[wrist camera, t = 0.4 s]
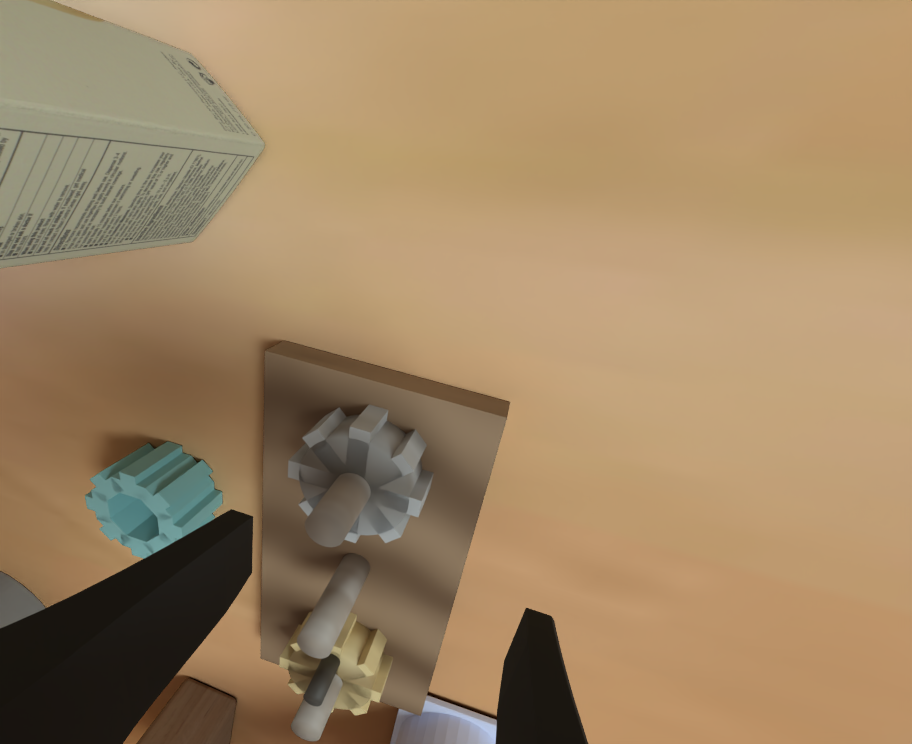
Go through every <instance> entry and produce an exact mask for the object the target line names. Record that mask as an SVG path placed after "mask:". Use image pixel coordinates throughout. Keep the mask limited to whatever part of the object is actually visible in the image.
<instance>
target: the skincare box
mask: <svg viewBox="0 0 912 744" xmlns="http://www.w3.org/2000/svg"><path fill="white" fill-rule="evenodd" d="M264 147H265V143H264V142H263V140H262V139H261V138H260V136H259V135H258V134H257V133H256V131H255V130H254V129H253V127H252V126H251V125H250V124H249V122H248V121H247V120H246V118H245V117H244V116H243V115H242V113H241V112H240V111H239V110H238V108H237V107H236V106H235V104H234V103H233V102H232V101H231V100H230V98H229V97H228V96H227V95H226V93H225V92H224V91H223V90H222V88H221V87H220V86H219V85H218V84H217V82H216V81H215V80H214V79H213V78H212V77H211V75H210V74H209V73H208V72H207V71H206V70H205V69H204V67H203V66H202V65H201V64H200V63H199V62H198V61H197V59H196V58H195V57H194V56H193V55H192V54H190V53H189V52H186V51H183V50H181V49H178V48H176V47H173V46H170V45H168V44H165V43H163V42H160V41H158V40H155V39H152V38H150V37H147V36H144V35H142V34H139V33H137V32H134V31H131V30H129V29H126V28H123V27H121V26H118V25H115V24H113V23H110V22H107V21H105V20H102V19H99V18H96V17H94V16H91V15H89V14H86V13H84V12H81V11H78V10H75V9H73V8H70V7H67V6H65V5H62V4H59V3H57V2H54V1H51V0H0V268H5V267H13V266H20V265H27V264H35V263H42V262H50V261H57V260H64V259H71V258H78V257H86V256H93V255H100V254H108V253H115V252H122V251H130V250H137V249H145V248H152V247H159V246H166V245H173V244H182V243H189V242H193V241H194V240H195V239H196V238H197V236H198V235H199V234H200V233H201V232H202V231H203V229H204V228H205V227H206V225H207V224H208V223H209V222H210V221H211V220H212V218H213V217H214V216H215V214H216V213H217V212H218V211H219V209H220V208H221V207H222V205H223V204H224V203H225V201H226V200H227V199H228V197H229V196H230V195H231V194H232V192H233V191H234V190H235V188H236V187H237V185H238V184H239V183H240V181H241V180H242V179H243V177H244V176H245V174H246V173H247V172H248V170H249V169H250V168H251V166H252V165H253V163H254V162H255V160H256V159H257V158H258V156H259V155H260V153H261V152H262V151H263V149H264Z"/></svg>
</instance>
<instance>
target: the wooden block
mask: <svg viewBox="0 0 912 744" xmlns="http://www.w3.org/2000/svg"><path fill="white" fill-rule="evenodd" d="M235 707H236V700H235V698H233V697H231V696H229V695H227V694H224V693H222V692H220V691H218V690H215V689H213V688H211V687H209V686H206V685H204V684H202V683H200V682H197V681H195V680H193V679H187V680H185V681H184V682H183V683H182V685H181V686H180V687H179V689H178V690H177V691H176V693H175V694H174V695H173V697H172V698H171V699H170V701H169V702H168V703H167V704H166V706H165V707H164V708H163V710H162V711H161V712H160V714H159V715H158V716H157V718H156V719H155V720H154V721H153V723H152V724H151V725H150V727H149V728H148V729H147V731H146V732H145V733H144V735H143V736H142V737H141V739H140V740H139V741H138V742H137V744H230V738H231V732H232V726H233V720H234V713H235Z"/></svg>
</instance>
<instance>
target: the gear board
mask: <svg viewBox="0 0 912 744" xmlns="http://www.w3.org/2000/svg"><path fill="white" fill-rule="evenodd" d="M509 404H510V402H507V401H504V400H500V399H496V398H493V397H489V396H485V395H482V394H478V393H474V392H471V391H467V390H464V389H460V388H456V387H453V386H449V385H445V384H442V383H438V382H434V381H431V380H427V379H423V378H420V377H416V376H412V375H409V374H405V373H401V372H398V371H394V370H390V369H387V368H383V367H379V366H376V365H372V364H368V363H365V362H361V361H357V360H354V359H350V358H346V357H343V356H339V355H335V354H332V353H328V352H324V351H321V350H317V349H313V348H310V347H306V346H302V345H299V344H295V343H291V342H288V341H282V342H280V343H279V344H277V345H275V346H273V347H271V348H269V349H267V350H265V379H264V450H263V521H262V593H261V659H264V660H266V661H269V662H272V663H275V664H277V665H280V666H279V667H281V668H284V669H287V670H288V671H289V674H290V677H291V679H290V681H289V683H288V685H289V686H290V687H291V688H292V689H293V690H294V691H295V692H296V694H301V693H305V694H304V696H303V697H304V699H303V701H302V703H301V705H300V707H299V710H298V712H297V714H296V716H295V718H294V720H293V722H292V724H291V729H292V731H293V732H294V733H295V734H296V735H297V736H299V737H300V738H302V739H304V740H307V741H317V740H319V739H320V737H321V735H322V732H323V730H324V727H325V725H326V723H327V720H328V718H329V716H330V713H333V711H334V708H336V709H344V710H350V711H351V712H352V713H353V714H354V715H355V716H356V715H360V714H365V713H367V711H368V708H369V705H370V702H371V700H372V701H375V702H378V703H379V701H380V702H383V703H385V704H388V705H391V706H394V707H396V708H399V709H402V710H405V711H407V712H410V713H413V714H416V715H418V716H421V714H422V710H423V707H424V703H425V700H426V697H427V693H428V690H429V686H430V683H431V679H432V676H433V672H434V669H435V665H436V662H437V658H438V655H439V652H440V648H441V645H442V641H443V638H444V634H445V631H446V627H447V624H448V620H449V617H450V613H451V610H452V606H453V603H454V600H455V596H456V593H457V589H458V586H459V582H460V579H461V575H462V572H463V568H464V565H465V561H466V558H467V555H468V551H469V548H470V544H471V541H472V537H473V534H474V530H475V527H476V523H477V520H478V516H479V513H480V510H481V506H482V503H483V499H484V496H485V492H486V489H487V485H488V482H489V478H490V475H491V471H492V468H493V465H494V461H495V458H496V454H497V451H498V447H499V444H500V440H501V437H502V433H503V430H504V426H505V423H506V420H507V415H508V410H509Z"/></svg>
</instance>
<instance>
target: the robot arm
mask: <svg viewBox="0 0 912 744" xmlns="http://www.w3.org/2000/svg"><path fill="white" fill-rule="evenodd" d="M252 540H253V516H250V515H247V514H244V513H241V512H238V511H235V510H232V509H231V510H230V511H228V512H226V513H224V514H222V515H220V516H219V517H217V518H215V519H213V520H212V521H210V522H208V523H206V524H205V525H203V526H201V527H199V528H198V529H196V530H194V531H192V532H191V533H189V534H187V535H186V536H184V537H182V538H180V539H178V540H177V541H175V542H173V543H171V544H170V545H168V546H166V547H164V548H163V549H161V550H159V551H157V552H155V553H153V554H152V555H150V556H148V557H146V558H144V559H143V560H141V561H139V562H137V563H135V564H133V565H132V566H130V567H128V568H126V569H124V570H122V571H120V572H118V573H116V574H114V575H112V576H111V577H109V578H107V579H105V580H103V581H101V582H99V583H97V584H95V585H93V586H91V587H89V588H87V589H85V590H83V591H81V592H79V593H77V594H75V595H73V596H71V597H69V598H67V599H65V600H62V601H60V602H58V603H56V604H54V605H52V606H50V607H48V608H45V609H43V610H41V611H39V612H37V613H34V614H32V615H30V616H28V617H25V618H23V619H21V620H19V621H16V622H14V623H12V624H9V625H7V626H5V627H2V628H0V744H123V742H124V741H125V739H126V738H127V737H128V735H129V734H130V732H131V731H132V729H133V728H134V727H135V725H136V724H137V723H138V721H139V720H140V719H141V718H142V716H143V715H144V714H145V712H146V711H147V710H148V708H149V707H150V706H151V705H152V703H153V702H154V701H155V700H156V698H157V697H158V696H159V695H160V693H161V692H162V691H163V690H164V689H165V687H166V686H167V685H168V684H169V682H170V681H171V680H172V679H173V677H174V676H175V675H176V674H177V673H178V671H179V670H180V669H181V668H182V666H183V665H184V664H185V663H186V661H187V660H188V659H189V658H190V657H191V655H192V654H193V653H194V652H195V650H196V649H197V648H198V647H199V646H200V644H201V643H202V642H203V641H204V639H205V638H206V637H207V636H208V634H209V633H210V632H211V631H212V629H213V628H214V627H215V626H216V624H217V623H218V622H219V621H220V619H221V618H222V617H223V616H224V614H225V613H226V612H227V610H228V609H229V607H230V606H231V604H232V603H233V601H234V600H235V598H236V597H237V595H238V594H239V592H240V591H241V589H242V587H243V586H244V584H245V583H246V581H247V580H248V578H249V576H250V575H251V573H252ZM390 744H588V742H587V739H586V735H585V732H584V729H583V726H582V723H581V720H580V716H579V713H578V710H577V707H576V704H575V700H574V697H573V694H572V690H571V687H570V683H569V680H568V676H567V672H566V669H565V665H564V661H563V657H562V653H561V649H560V645H559V641H558V637H557V632H556V628H555V623H554V620H553V618H552V617H551V616H550V615H547V614H544V613H541V612H538V611H535V610H532V609H529V608H526V609H525V612H524V614H523V617H522V619H521V622H520V624H519V626H518V629H517V631H516V634H515V636H514V638H513V641H512V643H511V646H510V648H509V651H508V653H507V655H506V658H505V660H504V667H503V673H502V680H501V687H500V695H499V702H498V709H497V720H496V719H493V718H490V717H487V716H485V715H482V714H479V713H476V712H473V711H471V710H468V709H465V708H462V707H459V706H457V705H454V704H451V703H448V702H445V701H442V700H440V699H437V698H434V697H431V696H428V695H427V697H426V700H425V703H424V707H423V710H422V714H421V716H418V715H416V714H413V713H410V712H407V711H405V710H402V709H399V710H398V714H397V718H396V722H395V726H394V730H393V734H392V738H391V742H390Z"/></svg>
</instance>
